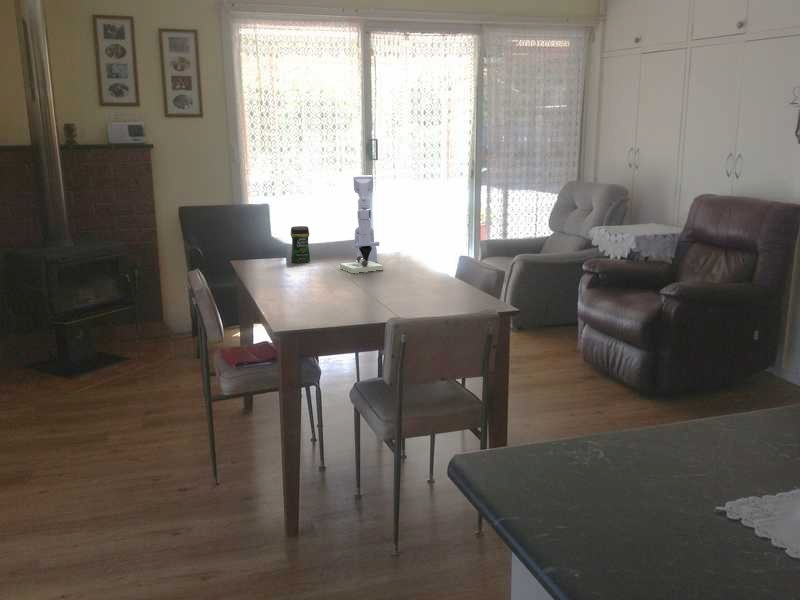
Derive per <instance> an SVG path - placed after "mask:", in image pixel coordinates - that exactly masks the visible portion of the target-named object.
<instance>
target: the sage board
mask: <svg viewBox="0 0 800 600" xmlns="http://www.w3.org/2000/svg"><path fill="white" fill-rule="evenodd" d="M339 268H341V269H340V270H342V269H343V271H345V270H346V272H347V271H348V273H350V272H351V274H352V273H355V274H360V273H359V272H364V273H369V272H368V271H374V272H377V271H376V270H383V271H384V265H383V264H380V263H378V262H372V261H368V265H367V266H366V267H364V266H362V264H360V262H355V261H353V262H342V263H339Z"/></svg>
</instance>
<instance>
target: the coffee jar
mask: <svg viewBox="0 0 800 600" xmlns="http://www.w3.org/2000/svg"><path fill="white" fill-rule="evenodd" d="M309 230H310V229H309V227H308V226H304V225H298V226H297V225H296V226H291V228H290V237H291V240H292V241H291V258H290V260H291V262H292V263H295V264H300V263H301V264H303V263H305V264H306V263H310V262H311V256H310V246H309V237H310V231H309Z"/></svg>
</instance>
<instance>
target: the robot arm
mask: <svg viewBox="0 0 800 600" xmlns="http://www.w3.org/2000/svg"><path fill="white" fill-rule="evenodd" d="M373 188H374V176H373V175H354V176H353V190H354V193H356V194H357V196H358V197H359V198H358V200H357V206H358V207H357V208H358V210H357V224H358V227H356V228H355V229H354V243H350V248H351V249H357V257H358V256H361V257H362V258H365V260H366V261H367V262H368V261H372V262H375V263H378V254H377V253H378V249H377V247H379V246H380V242H379V241H375V233H374V232H375V231H374V229H373V227H371V221H372V209H371V200H370V198H368V197H369V195H370V193H372V192H373ZM354 262H358V261H357V259H356V260H354Z"/></svg>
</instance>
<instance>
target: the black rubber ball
mask: <svg viewBox="0 0 800 600" xmlns="http://www.w3.org/2000/svg"><path fill="white" fill-rule="evenodd" d="M367 265H368V262H367V261H366V260H364V261H363V262H362V266H364V267H366V266H367Z"/></svg>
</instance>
